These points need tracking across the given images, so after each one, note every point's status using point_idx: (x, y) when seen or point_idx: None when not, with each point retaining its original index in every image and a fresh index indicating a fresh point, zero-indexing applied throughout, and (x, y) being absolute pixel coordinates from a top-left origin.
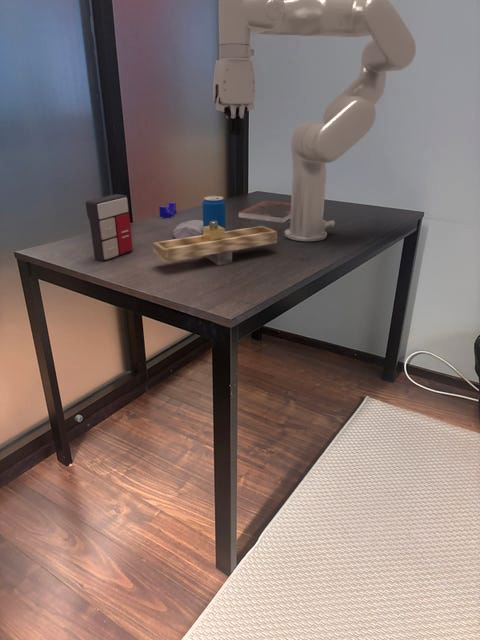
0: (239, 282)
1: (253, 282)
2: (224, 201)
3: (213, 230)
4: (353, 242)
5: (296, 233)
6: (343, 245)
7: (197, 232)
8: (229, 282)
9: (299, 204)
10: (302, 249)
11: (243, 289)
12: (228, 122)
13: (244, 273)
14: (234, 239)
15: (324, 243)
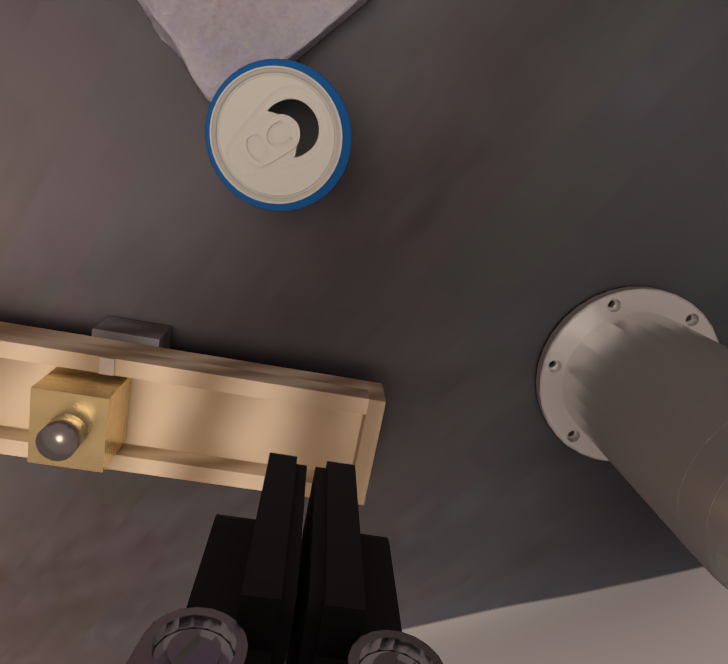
0: (69, 579)
1: (106, 601)
2: (326, 189)
3: (42, 463)
4: (673, 535)
5: (565, 391)
6: (615, 536)
7: (207, 99)
8: (43, 562)
9: (623, 459)
10: (469, 481)
11: (48, 621)
12: (194, 586)
13: (130, 534)
14: (151, 472)
15: (589, 481)
